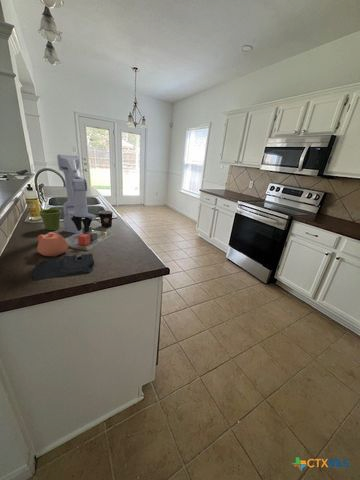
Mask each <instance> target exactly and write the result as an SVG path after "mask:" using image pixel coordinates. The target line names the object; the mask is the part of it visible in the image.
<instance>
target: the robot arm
mask: <svg viewBox="0 0 360 480" xmlns="http://www.w3.org/2000/svg"><path fill="white" fill-rule="evenodd" d="M56 158H57V165H58V170H59V171H62V172H63V174H64V181H65V190H66V197H67V201H65V202H64V203H63V204H62V207H63V216H64V217H63V219H62V220H63V221H62V223H63V232H68V233H73V234H77V233H79V232H82V228H83V227H84V230H85V232H88V231H89V227H90V226H91V224H92V221H93V220H95V219H96V220H97V215H94V214H92V213H90V212H89V211H88V209H89V208H88V200H87V199H88V198H87V192H88V183H87V180H86V178H84V177H83V175H82V173H81V171H80V170H79V167H80V159H79V157H78V155H69V154H68V155H67V154H57V155H56ZM82 225H83V226H82Z"/></svg>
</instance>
